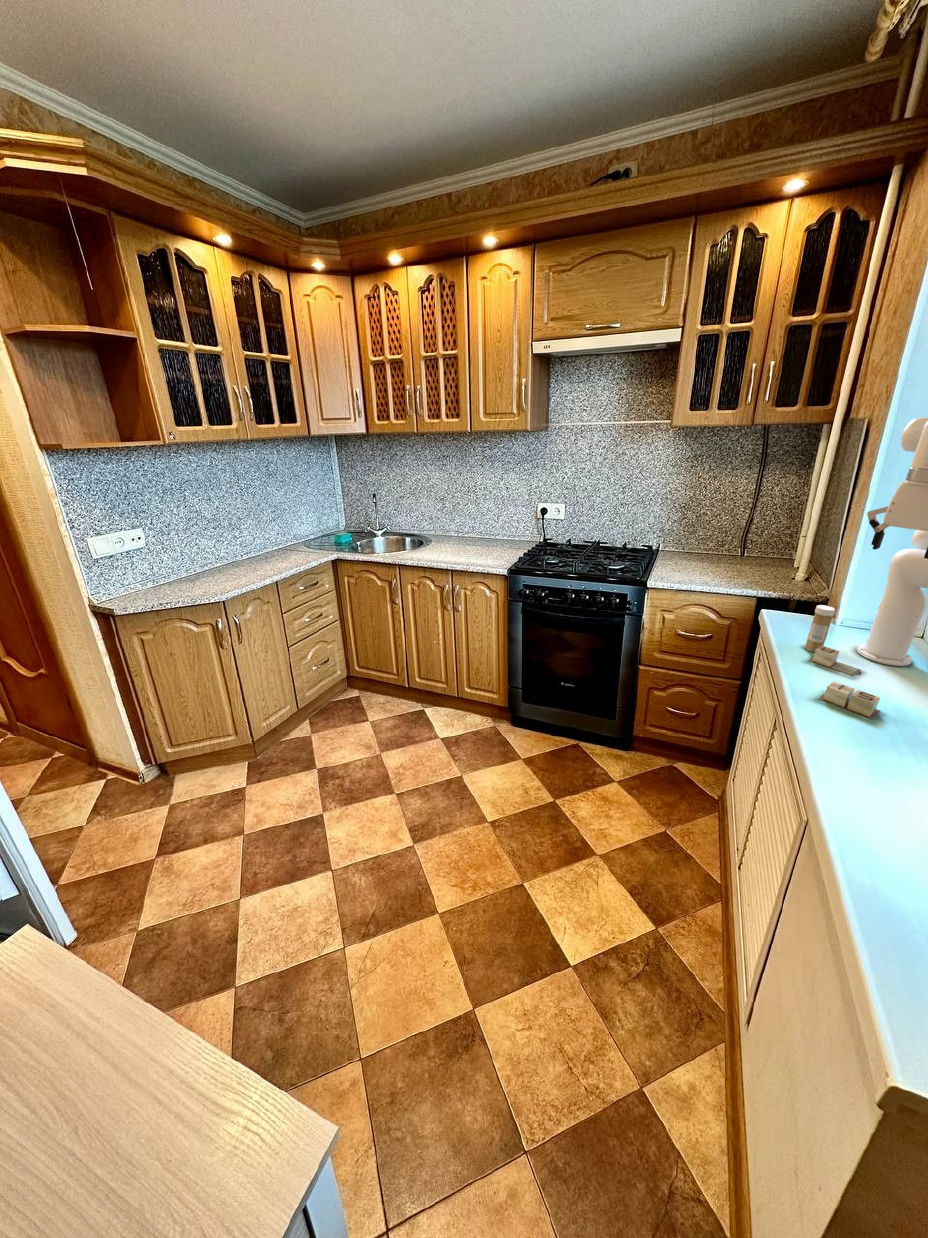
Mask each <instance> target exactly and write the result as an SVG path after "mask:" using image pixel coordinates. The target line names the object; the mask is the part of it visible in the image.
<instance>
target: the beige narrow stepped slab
mask: <svg viewBox="0 0 928 1238" xmlns="http://www.w3.org/2000/svg"><path fill="white" fill-rule="evenodd" d="M839 655H840V650H838V649H834V648H831V647H827V646H824V645H823V646H821V647H819V648H817V649H816V650H815V652H813V656H812V657H811V658H809V659H808V660H807V662H808V663H812V664H815V665H818V666H821V667H823V668H827V669H830V670H833V671H835V672H838V673H841V674H843V675H847V676H850V677H855V676H856V675H859V674H860V673H861V672H862V669H861V668H860V669H859V668H856V667H854V666H850V665H848V664H844V663H842V662H839V661H837V660H838V657H839Z"/></svg>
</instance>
